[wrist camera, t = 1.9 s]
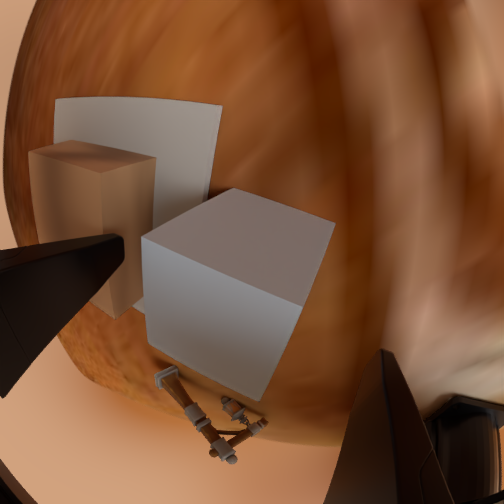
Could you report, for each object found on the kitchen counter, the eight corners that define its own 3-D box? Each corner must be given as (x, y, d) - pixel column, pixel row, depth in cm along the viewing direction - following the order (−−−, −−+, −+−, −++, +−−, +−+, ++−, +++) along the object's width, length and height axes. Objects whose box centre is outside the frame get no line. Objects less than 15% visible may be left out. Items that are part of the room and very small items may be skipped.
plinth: (156, 157, 11) (100, 173, 8) (153, 288, 14) (115, 320, 12) (71, 139, 12) (28, 151, 10) (78, 244, 16) (44, 263, 13)
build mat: (222, 105, 9) (217, 105, 9) (193, 335, 15) (189, 339, 15) (60, 98, 12) (55, 99, 12) (69, 258, 18) (65, 260, 18)
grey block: (335, 223, 9) (303, 306, 5) (302, 307, 11) (259, 401, 7) (233, 187, 10) (141, 236, 6) (219, 272, 12) (147, 343, 8)
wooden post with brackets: (273, 436, 16) (223, 472, 13) (202, 363, 20) (153, 387, 17) (280, 427, 15) (226, 467, 12) (204, 350, 19) (151, 375, 17)
